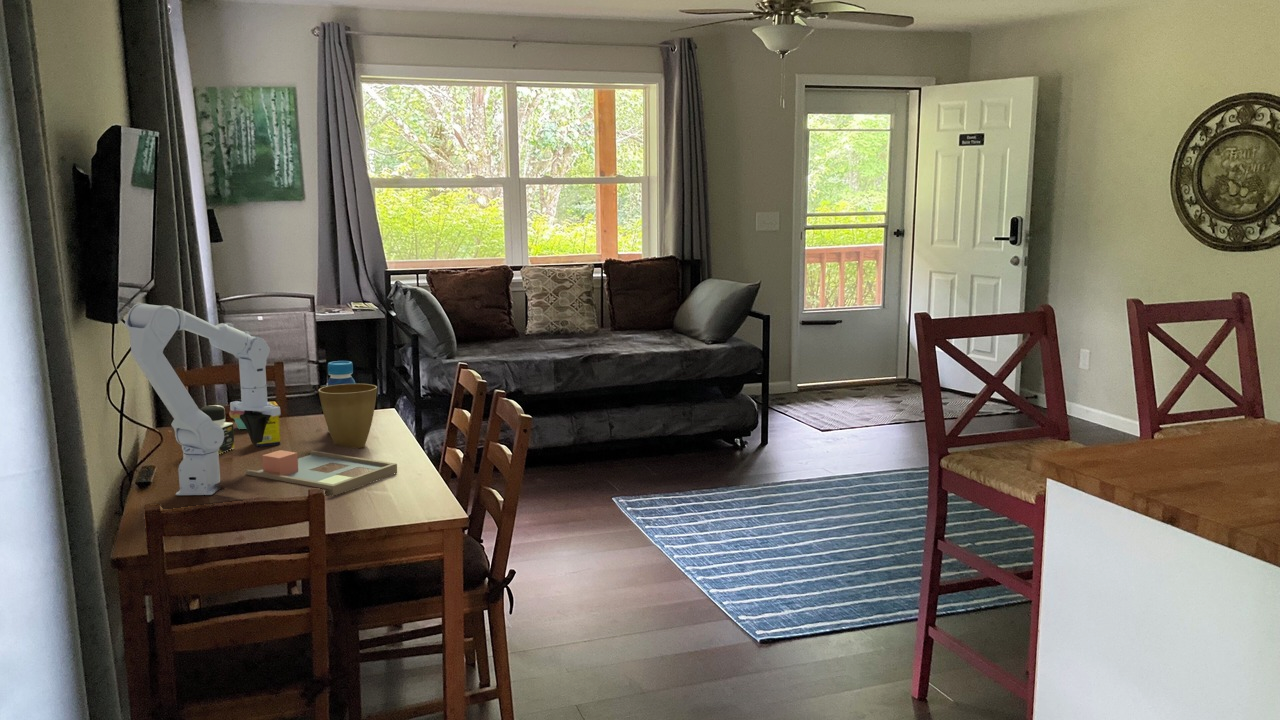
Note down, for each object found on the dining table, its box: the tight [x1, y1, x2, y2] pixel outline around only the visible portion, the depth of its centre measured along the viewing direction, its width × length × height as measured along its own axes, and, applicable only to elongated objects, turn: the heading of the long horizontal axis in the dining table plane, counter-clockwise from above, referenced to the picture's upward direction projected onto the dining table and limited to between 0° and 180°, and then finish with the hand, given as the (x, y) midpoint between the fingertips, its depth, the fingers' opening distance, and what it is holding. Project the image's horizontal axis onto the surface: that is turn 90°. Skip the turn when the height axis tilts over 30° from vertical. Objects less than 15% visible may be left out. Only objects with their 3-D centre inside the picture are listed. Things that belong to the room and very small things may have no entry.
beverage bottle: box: [325, 360, 357, 434], centre depth 271 cm, size 8×8×20 cm
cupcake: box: [228, 410, 247, 430], centre depth 276 cm, size 9×8×12 cm
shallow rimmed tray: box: [245, 450, 398, 497], centre depth 227 cm, size 27×21×2 cm
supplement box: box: [255, 401, 281, 447], centre depth 258 cm, size 6×6×11 cm
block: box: [261, 449, 299, 476], centre depth 225 cm, size 6×6×4 cm
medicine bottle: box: [199, 404, 236, 456], centre depth 249 cm, size 7×7×12 cm
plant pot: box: [318, 383, 378, 450], centre depth 255 cm, size 15×15×16 cm
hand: (257, 442), depth 229 cm, fingers closed
